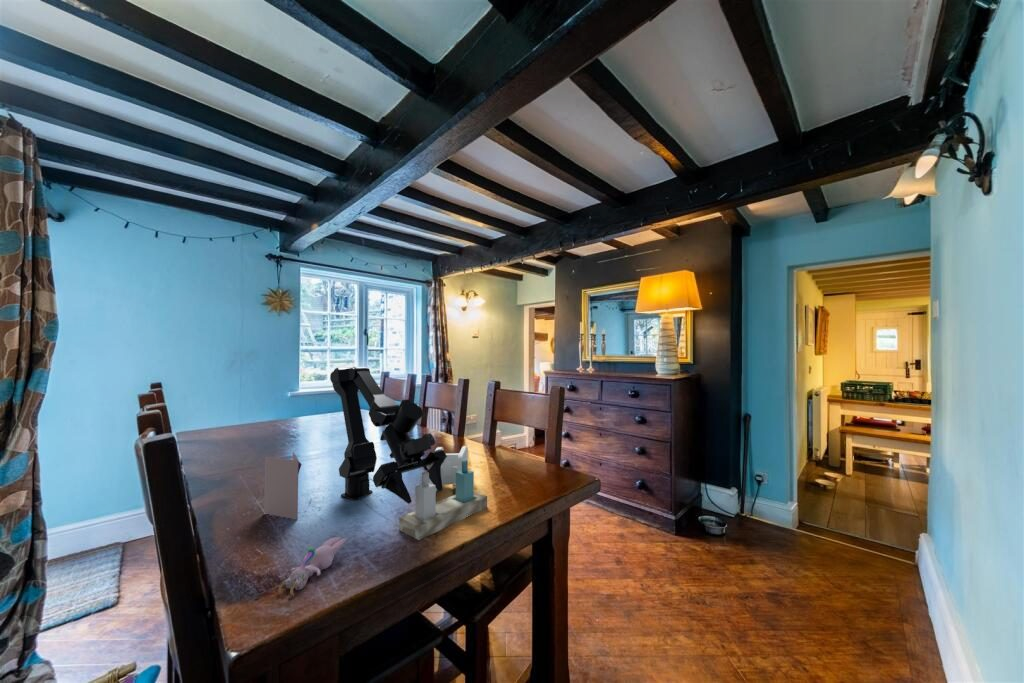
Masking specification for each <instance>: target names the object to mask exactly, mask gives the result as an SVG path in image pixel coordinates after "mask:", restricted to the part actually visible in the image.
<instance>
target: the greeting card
mask: <svg viewBox="0 0 1024 683" xmlns="http://www.w3.org/2000/svg"><path fill="white" fill-rule="evenodd" d="M264 460H265V461H264V502H263V503H264V504H263V508H264V510H263V514H264V513H266V514H271V515H276V516H275V517H277V516H281V517H280V518H283V517H286V518H285V519H288V518H292V519H291V520H294V519H297V521H298V517H299V516H298V514H299V513H298V511H299V474H300V470H301V468H302V463H301V462H300V460H299V459H298V457H297V456H296V454H295V452H294V451H292V459H289V458H281V457H278V458H277V457H273V456H272V457H271V456H270V457H269V456H265V458H264ZM271 515H270V516H271Z"/></svg>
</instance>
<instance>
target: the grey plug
mask: <svg viewBox="0 0 1024 683" xmlns="http://www.w3.org/2000/svg"><path fill="white" fill-rule="evenodd" d="M421 479H422V480H421V483H420V484H417V485H415V490H414V491H415V493H414V494H415V495H414V497H415V499H414V500H415V501H414V502H415V504H414V505H415V506H414V507H415V508H414V509H415V510H414V511H415V518H417V519H419V520H421V521H425V520H428V519H430V518H432V517H435V516H436V502H437V501H436V500H437V499H436V496H437V495H436V493H437V492H436V485H433V484H431V483H429V472H427V471H425V472H424V471H423V472H422V474H421Z"/></svg>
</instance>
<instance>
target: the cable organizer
mask: <svg viewBox="0 0 1024 683" xmlns="http://www.w3.org/2000/svg"><path fill="white" fill-rule="evenodd" d="M440 449H441V450H444V447H443V446H437V447H436V449H435V450H434V451H436V450H440ZM468 451H469V450H468V445H463V446H461V449H460V451H459V452H458V453H456V452H455V453H445V454H446V456H447V457H446V459H445V460H444V462H443V463H442V465H441V480H442V487H444V485H452V487H456V472H458V471H461V470H462V460H468V461H469V459H468V457H469V456H468ZM429 483H431V484H433V483H432V482H431V480H430V479H429ZM433 485H434V484H433ZM437 491H438V490H437V489H436V493H437Z"/></svg>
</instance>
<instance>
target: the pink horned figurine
mask: <svg viewBox="0 0 1024 683" xmlns="http://www.w3.org/2000/svg"><path fill="white" fill-rule="evenodd" d="M347 540H348V538H347V537H345V538H342V537H330V538H329V539H326V540H325V542H323V544H322V545H320V546H319V547H317V548H316V549H315V548H314V547H313V546H311V547H309V548H308V549H307V550H306V555H305V557H303V560H302V562H301V565H299V566H298V567H293V568H291V570H290V571H291V573H290V574H289V576H288V578H287V579H285V580H283V581H282V583H281V585H278V591H277V594H279V595H282V594H283V593H284V592H283V590H282V588H283V586H284V585H285V587H286V588H287V589H289V590H290V591H289V594H288V596H290V595H291V597H294V595H295V593H294V589H295V590H296V591H301V590H303V589H304V588H305V587H306V586H307V583H308V579H309V578H310V577H312V576H313V575H314V573H316V576H320V575H321V571H323V570H326V569H327V568H329V567H330V566H331V565H332V563H333V560H334V557H335V555H336V554H337V553H338V551H340V550H341V548H342V547H343V546H344V544H345V543H346V541H347ZM307 564H308V565H307Z"/></svg>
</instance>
